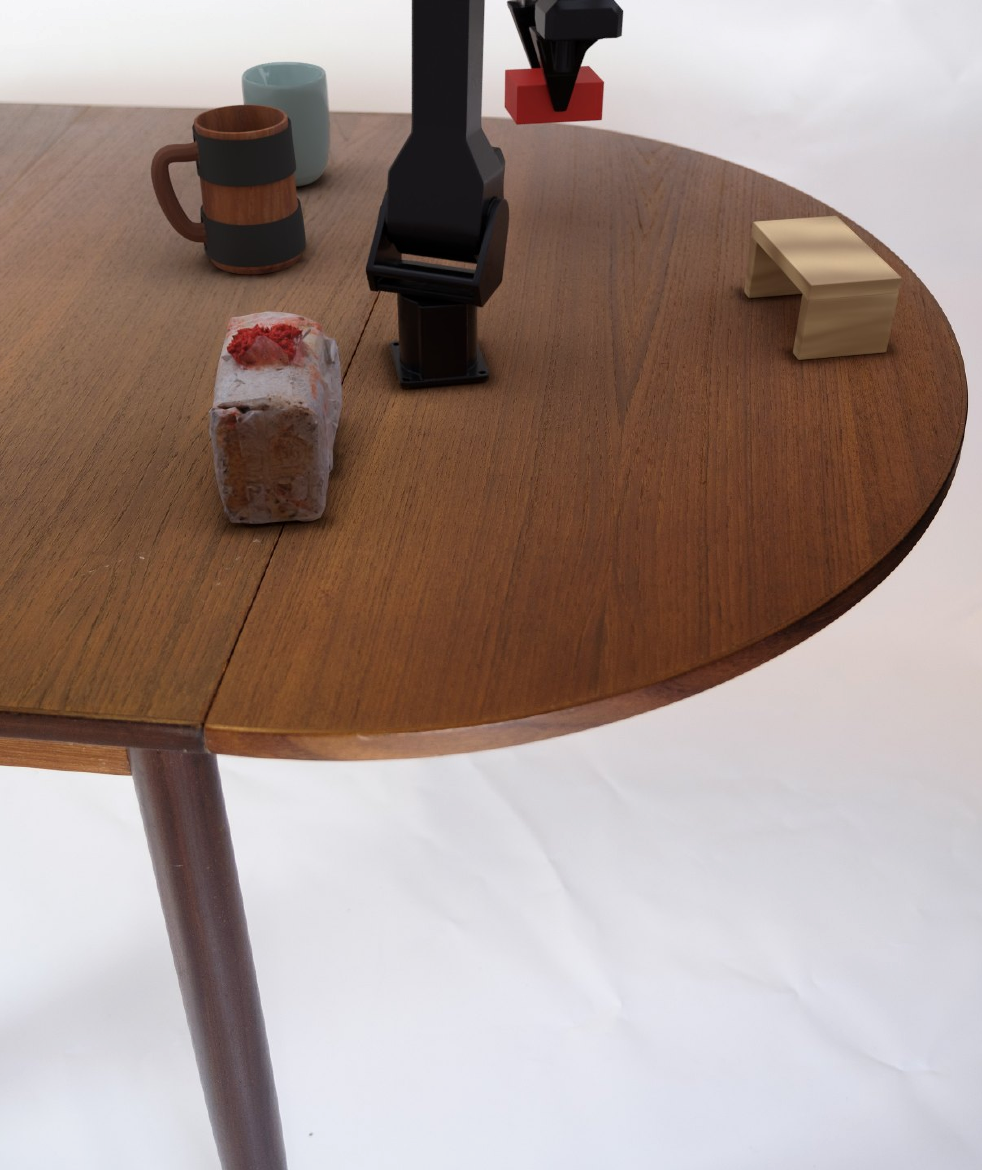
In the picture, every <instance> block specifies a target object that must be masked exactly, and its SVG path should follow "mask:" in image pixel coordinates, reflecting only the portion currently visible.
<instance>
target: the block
mask: <svg viewBox="0 0 982 1170" xmlns="http://www.w3.org/2000/svg"><path fill="white" fill-rule="evenodd" d="M604 91H605V81H604V80H603V79H602V78H601V77H600V76H599V75H598V74H597V73H596V71H595V70H593V68H592V67H590V65H581V67H580V70H579V73H578V77H577V80H576V83H575V86H574V89H573V92H572V96H571V99H570V102H569V105H568V108H567V110H566V111H564V112H555V111H554V110H553V107H552V104H551V101H550V97H549V94H548V91H547V87H546V84H545V80H544V77H543V74H542V70H541V68H532V69H531V68H514V69H505V70H504V108H505V110H506V112H507V113H508V114H509V116H510V117H511V119H512V120H513V122H514V123H515V125H517V126H519V125H536V124H537V125H538V124H558V123H573V122H574V123H575V122H593V121H594V122H595V121H602V120H603V109H604Z"/></svg>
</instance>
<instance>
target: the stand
mask: <svg viewBox="0 0 982 1170" xmlns="http://www.w3.org/2000/svg"><path fill="white" fill-rule="evenodd" d="M748 252H749V253H748V258H747V267H746V274H745V282H744V290H743V293H744V294H745V295H746V297H747V298H748V299H754V298H755V299H756V298H766V297H779V296H792V295H801V300H800V305H799V306H800V307H799V313H798V318H797V324H796V331H795V336H794V342H793V343H794V344H793V348H792V354H793V355H794V357H796V359H797V360H798V361H803V360H805V361H806V360H813V359H816V360H817V359H826V358H837V357H838V358H839V357H849V356H858V355H870V354H882V353H887V349H888V345H889V340H890V335H891V332H892V326H893V322H894V318H895V312H896V308H897V303H898V298H899V293H900V289H901V283H902V281H903V279H902V278H903V277H902V276H901V275H900V274H899V273H898V272H896V271H895V270H894V269H893V268H892V266H890V265H889V264H888V263H887V262H886V261H885V260H884V259H883V258H882V257H881V256H880V255H878V254H877V253H876V252H875V250H874V249H872V248H871V247H870V246H869V245H868V244H867V243H866V242H865V241H864V240H863V239H861V237H859V236H858V234H857V233H855V232H854V231H853V230H852V229H851V228H850V227H849V226H848V225H847V224H846V223H845V222H844V221H842V219H840V217H838V216H837V215H832V216H831V215H829V216H827V215H826V216H814V217H813V216H812V217H801V218H800V217H799V218H787V219H772V220H760V221H759V220H757V221H753V223H752V229H751V238H750V244H749V251H748Z"/></svg>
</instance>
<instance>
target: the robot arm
mask: <svg viewBox="0 0 982 1170" xmlns="http://www.w3.org/2000/svg"><path fill="white" fill-rule="evenodd" d="M485 3H486V0H411V127H410V133H409V135H408V136H407V138H406V140H405V142H404V143H403V145H402V147H401V148H400V150H399V151H398V153H397V155H396V157H395V158H394V159H393V161H392V162H391V163H392V164H391V165H390V167H389V169H388V172H387V180H386V181H387V182H386V183H387V185H386V190H385V193H384V195H383V198H382V202H381V204H380V206H379V210H378V216H377V220H376V226H375V230H374V234H373V237H372V241H371V244H370V248H369V253H368V256H367V257H368V258H367V261H366V266H365V275H366V280H367V283H368V288H369V291H370V292H375V293H378V292H383V293H390V294H391V293H392V294H396V302H397V303H396V306H397V326H398V327H397V329H398V340H393V341H391V342H390V343H389V350H390V354H391V358H392V361H393V365H394V369H395V373H396V376H397V380H398V383H399V386H400V387H401V388H405V389H407V388H408V389H409V388H418V387H430V386H440V385H452V384H463V383H474V382H476V383H477V382H484V381H487V380H489V379H490V372H489V371H490V370H489V369H488V366H487V364H486V361H485V358H484V356H483V354H482V351H481V349H480V346H479V344H478V308H484V307H485V305H486V304H487V303H488V301H489V300H490V299H491V298H492V296H493V295H494V293H495V292H496V291H497V290H498V288H499V287H500V286H501V284H502V283H503V278H504V271H505V262H506V260H505V259H506V251H507V244H508V243H507V242H508V234H509V225H510V206H509V202H508V200H507V199H506V198H505V194H504V191H505V189H504V188H505V186H504V185H505V171H506V158H505V156H504V153H503V151H502V149H501V147H499V146H492V144H491V143H490V141H489V139H488V137H487V135H486V134H485V131H484V129H483V126H482V115H483V113H482V111H483V76H484V75H483V74H484V44H485V43H484V41H485V39H484V38H485V9H486V5H485ZM506 6H507V8H508V10H509V12H510V15H511V17H512V20H513V23H514V27H515V29H516V31H517V34H518V36H519V39H520V42H521V45H522V47H523V51H524V53H525V56H526V58H527V62H528V64H529V67H530V69H532V68H541V70H542V74H543V77H544V80H545V84H546V87H547V91H548V94H549V97H550V101H551V104H552V107H553V110H554V111H555V112H564V111H566V110H567V108H568V105H569V102H570V99H571V96H572V92H573V89H574V86H575V83H576V80H577V77H578V73H579V70H580V67H581V66H582V64H583V61H584V59H585V56H586V53H587V51H588V50H589V49H590V48H591V47H592V46H594V45H595V44H596V43H597V42H598V41H599V40H604V39H605V40H606V39H618V38H620V37H622V36H623V23H624V10H623V8H622V7H621V6H620V5H619V4H618V3H617V1H616V0H507V1H506ZM403 255H406V256H407V255H408V256H416V257H423V258H431V259H436V260H437V259H438V260H442V261H443V260H444V261H452V262H458V263H466V264H473V265H475V269H474V268H466V267H460V266H452V265H445V264H439V263H431V262H425V261H418V260H410V259H403Z"/></svg>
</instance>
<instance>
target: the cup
mask: <svg viewBox="0 0 982 1170" xmlns="http://www.w3.org/2000/svg"><path fill="white" fill-rule="evenodd" d="M241 93H242V103H243V105H262V106H269V107H273V108H277V109H280V110H282V111H283V112H285V113H286V115H287V117H289V119H290V120H291V126H292V136H293V144H294V152H295V159H296V171H295V172H294V175H295V184H296V188H297V187H304V186H308V185H311V184H312V183H315V182H316V181H317V180H318V179H320V178H321V177H322V176H323V174H324V173H325V171H326V169H327V166H328V164H329V163H328V162H329V159H330V152H331V151H330V150H331V116H330V99H329V87H328V79H327V73H326V71H325V69H324V68H323V67H322V66H320V65H316V64H313V63H307V62H301V61H299V62H298V61H274V62H265V63H261V64H257V65H254V66H251V67H249V68H247V69H245V71H243V73H242V75H241Z"/></svg>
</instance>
